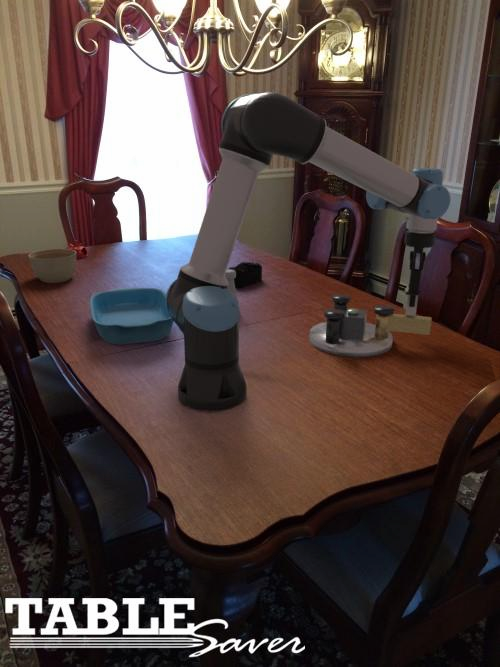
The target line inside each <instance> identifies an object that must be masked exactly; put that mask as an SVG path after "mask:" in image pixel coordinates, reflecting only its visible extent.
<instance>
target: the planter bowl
mask: <svg viewBox="0 0 500 667" xmlns="http://www.w3.org/2000/svg"><path fill="white" fill-rule="evenodd" d="M76 255H77V253H76V251H74V250H70V249H65V248H51V249H50V248H49V249H48V248H47V249H42V250H37V251H33V252H31V253H29V254H28V260H29V263H30V267H31V269H32V271H33V273H34V274H35V275H36V277H37V278H38V279H39V280H40V281H41V282H43V283H45V284H46V283H47V284H48V283H49V284H58V283H64V282H66V281H69V280H70V279H71V278H72V277H73V275H74V273H75V270H76V266H77V259H76Z"/></svg>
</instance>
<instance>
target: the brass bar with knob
mask: <svg viewBox="0 0 500 667" xmlns="http://www.w3.org/2000/svg"><path fill="white" fill-rule="evenodd" d="M373 313H374V314H376V315H375V316H376V317H375V324H374V325H375V335H374V336H375V337H376V338H380V339H386V338H388V335H389V332H397V333H408V334H416V335H417V334H418V335H424V336H425V335H426V336H430V335H431V329H432V328H431V327H432V317H431V316H423V315H416V316H412V315H405V314H403V313H402V314H401V313H399V314H398V313H395V308H394V307H393V306H392V305H383V304H382V305H380V304H379V305H375V306H374V307H373Z"/></svg>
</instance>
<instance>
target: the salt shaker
mask: <svg viewBox="0 0 500 667" xmlns="http://www.w3.org/2000/svg"><path fill="white" fill-rule="evenodd" d="M227 269H228V270H226V272H225V277H226V279H227V281H228V283H229V284H228V287H227V290H229V291H231V292H232V293H234V294H235V296H236V297H237V298H238V294H237V289H236V288H235V283H234V278H235V277H236V272H235V271H234V270H230V269H229V268H227Z"/></svg>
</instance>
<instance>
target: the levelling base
mask: <svg viewBox="0 0 500 667" xmlns="http://www.w3.org/2000/svg"><path fill="white" fill-rule="evenodd" d="M351 299H352V298H351V296H350V295H348V294H343V293H342V294H341V293H339V294H337V293H336V294H333V295H331V301H332V302H333V303H334V304H333V308H331V309H330V308H329V309H326V310H324V312H323V317H324V318H326V321H324V322H320V323H318V324H316V325H313V326H312V327H311V328H310V330H309V342H310V344H311V345H312V346H313V347H315V348H316V349H318V350H320V351H321V352H325V353H328V354H330V355H331V354H332V355H335V356H339V357H347V358H368V357H370V358H371V357H375V356H380V355H383V354H385V353H387V352H389V351H390V350H391V349H392V347H393V341H394V340H393V339H394V337H393V334H392V333H391V331H389V335H388V338H386V339H380V338H376V337H375V336H374V335H375V325H376V324H373V323H369V322H367V316H368V315H367V314H368V310H367V309H358V308H353V307H352V308H348V303H350V302H351V301H352V300H351Z"/></svg>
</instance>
